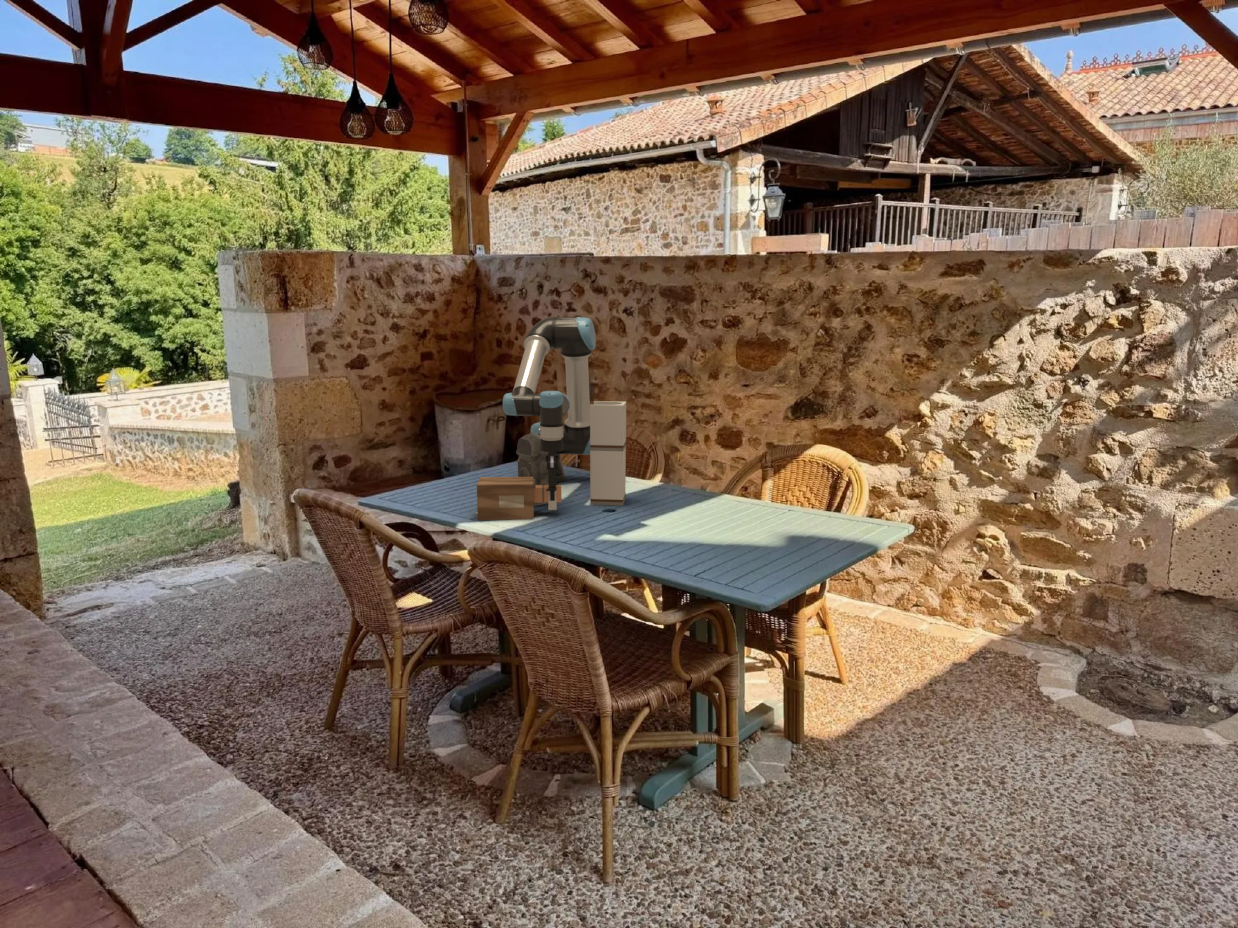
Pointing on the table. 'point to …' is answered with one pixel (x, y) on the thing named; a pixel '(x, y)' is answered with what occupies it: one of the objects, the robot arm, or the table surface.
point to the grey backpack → (532, 460)
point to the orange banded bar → (545, 493)
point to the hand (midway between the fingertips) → (552, 507)
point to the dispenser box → (505, 498)
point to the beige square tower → (607, 453)
